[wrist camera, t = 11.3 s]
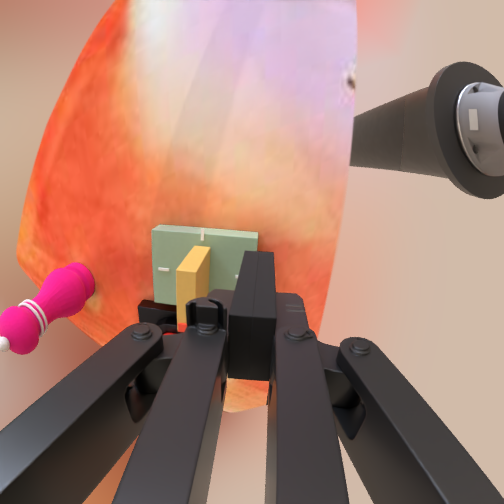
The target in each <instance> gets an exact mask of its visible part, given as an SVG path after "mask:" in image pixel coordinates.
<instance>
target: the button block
mask: <svg viewBox="0 0 504 504" xmlns="http://www.w3.org/2000/svg"><path fill="white" fill-rule="evenodd" d="M138 313H139V322H140V323H143V322H145V323H152V324H155V325H157V326H159V327H160V329H161V330H162V334H164V333H167V332H173V333H176V334H179V333H183V332H178V330H177V305H171V304H164V303H156V302H154V301H149V300H142V302H141V303H140V304H139V305H138Z"/></svg>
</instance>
